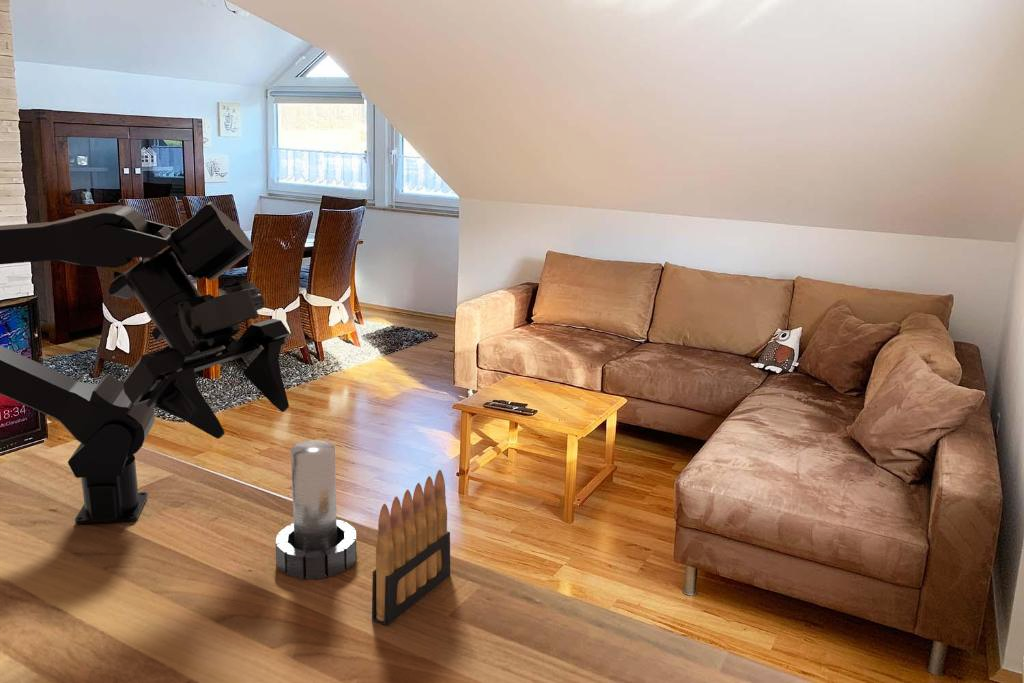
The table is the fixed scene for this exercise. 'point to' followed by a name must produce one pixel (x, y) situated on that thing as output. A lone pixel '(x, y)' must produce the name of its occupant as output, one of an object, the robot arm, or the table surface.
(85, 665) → the table surface
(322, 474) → the silver tall cylinder
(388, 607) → the ammunition clip
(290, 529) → the ring
